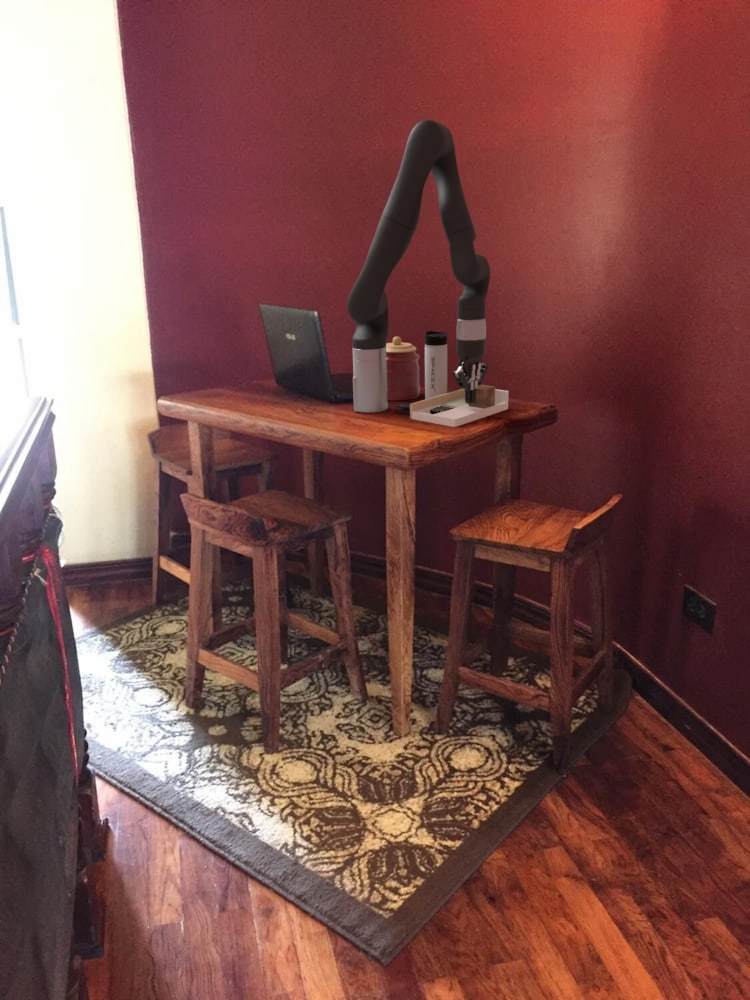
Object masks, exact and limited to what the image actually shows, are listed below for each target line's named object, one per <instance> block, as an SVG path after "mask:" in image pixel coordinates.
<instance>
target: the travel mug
mask: <svg viewBox="0 0 750 1000" xmlns="http://www.w3.org/2000/svg"><path fill="white" fill-rule="evenodd" d="M424 341H425V342H424V397H425V398H424V400H425V399H429V398H432V397H436V396H439V395H443V394H446V393H448V334H447V333H445V332H442V331H434V330H427V331H426V332H425V333H424Z"/></svg>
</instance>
